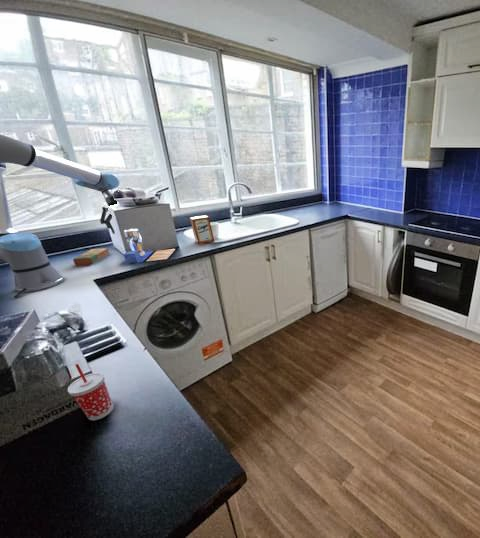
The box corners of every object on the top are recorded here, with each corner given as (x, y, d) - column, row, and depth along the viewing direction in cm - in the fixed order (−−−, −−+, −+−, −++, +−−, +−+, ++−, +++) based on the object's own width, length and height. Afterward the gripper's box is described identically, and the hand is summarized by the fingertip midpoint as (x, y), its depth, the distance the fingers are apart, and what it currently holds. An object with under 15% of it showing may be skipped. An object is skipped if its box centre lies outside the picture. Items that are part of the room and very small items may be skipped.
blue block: (137, 262, 156) (134, 253, 154) (126, 263, 155) (123, 254, 153) (140, 258, 160) (137, 250, 158) (130, 260, 159) (127, 251, 157)
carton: (110, 254, 170) (107, 247, 168) (93, 264, 156) (90, 257, 154) (93, 255, 169) (91, 248, 167) (75, 266, 154) (71, 258, 152)
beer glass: (130, 258, 161) (121, 232, 155) (134, 254, 167) (125, 229, 161) (145, 256, 163) (136, 230, 158) (148, 252, 169) (140, 227, 163)
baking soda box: (211, 238, 195) (205, 214, 189) (214, 240, 191) (208, 216, 184) (195, 241, 190) (189, 217, 183) (198, 243, 185) (192, 218, 179)
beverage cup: (81, 414, 68) (54, 366, 62) (113, 397, 72) (91, 351, 67) (87, 428, 64) (60, 379, 59) (121, 409, 69) (98, 362, 63)
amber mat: (167, 259, 160) (166, 258, 160) (146, 262, 157) (145, 261, 157) (176, 249, 176) (175, 248, 175) (157, 251, 173) (156, 250, 173)
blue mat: (143, 262, 157) (142, 261, 157) (121, 265, 154) (120, 264, 154) (154, 251, 173) (154, 250, 173) (134, 253, 170) (134, 252, 170)
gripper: (139, 200, 179) (154, 228, 176) (86, 207, 163) (101, 238, 159) (139, 192, 174) (154, 221, 170) (84, 198, 157) (99, 230, 154)
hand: (128, 229), depth 165 cm, fingers open, 13 cm apart
